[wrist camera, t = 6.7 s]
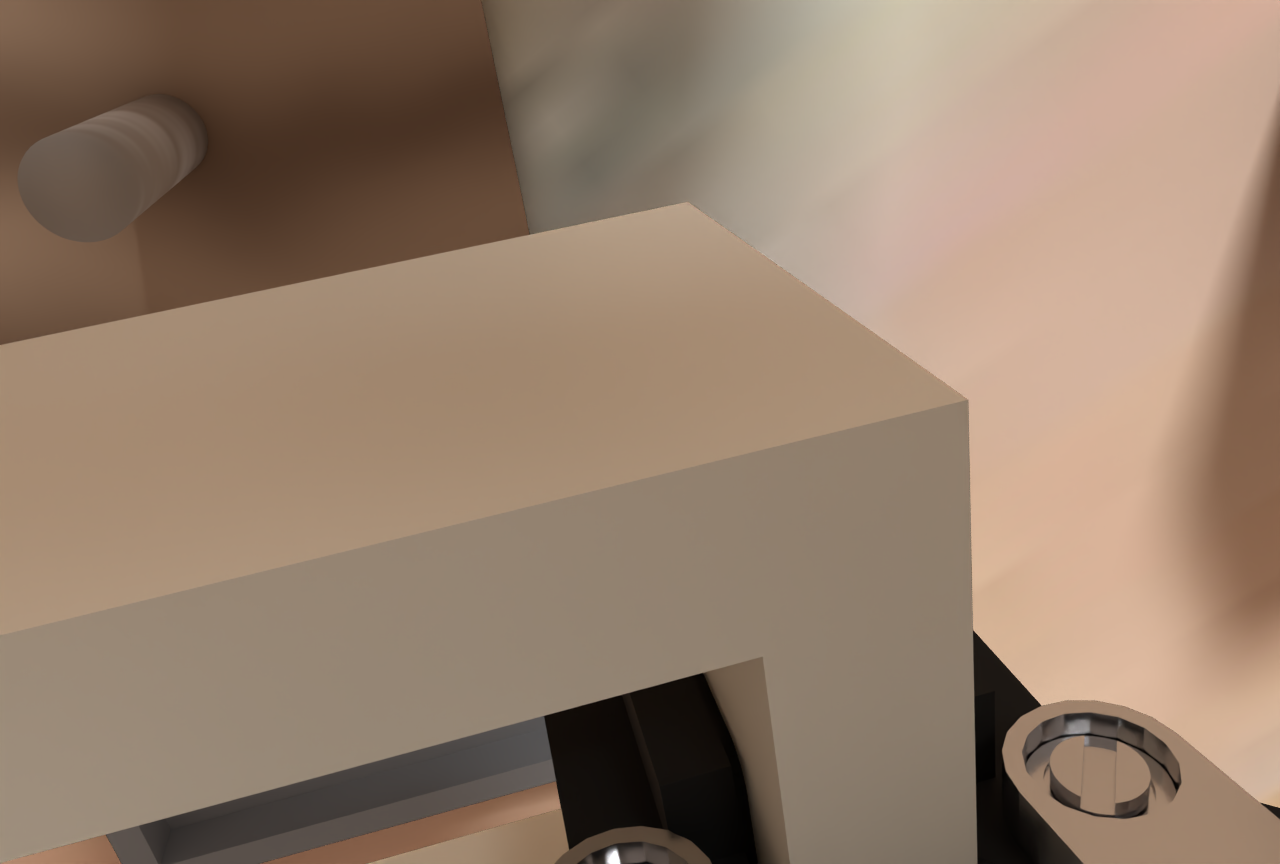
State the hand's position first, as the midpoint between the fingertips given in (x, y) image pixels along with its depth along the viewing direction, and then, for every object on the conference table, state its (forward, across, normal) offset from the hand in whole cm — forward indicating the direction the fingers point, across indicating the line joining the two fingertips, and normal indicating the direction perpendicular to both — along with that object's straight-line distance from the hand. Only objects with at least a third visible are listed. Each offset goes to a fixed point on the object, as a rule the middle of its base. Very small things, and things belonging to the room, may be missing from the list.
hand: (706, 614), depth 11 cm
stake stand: (+20, +8, -5) cm, 22 cm away
